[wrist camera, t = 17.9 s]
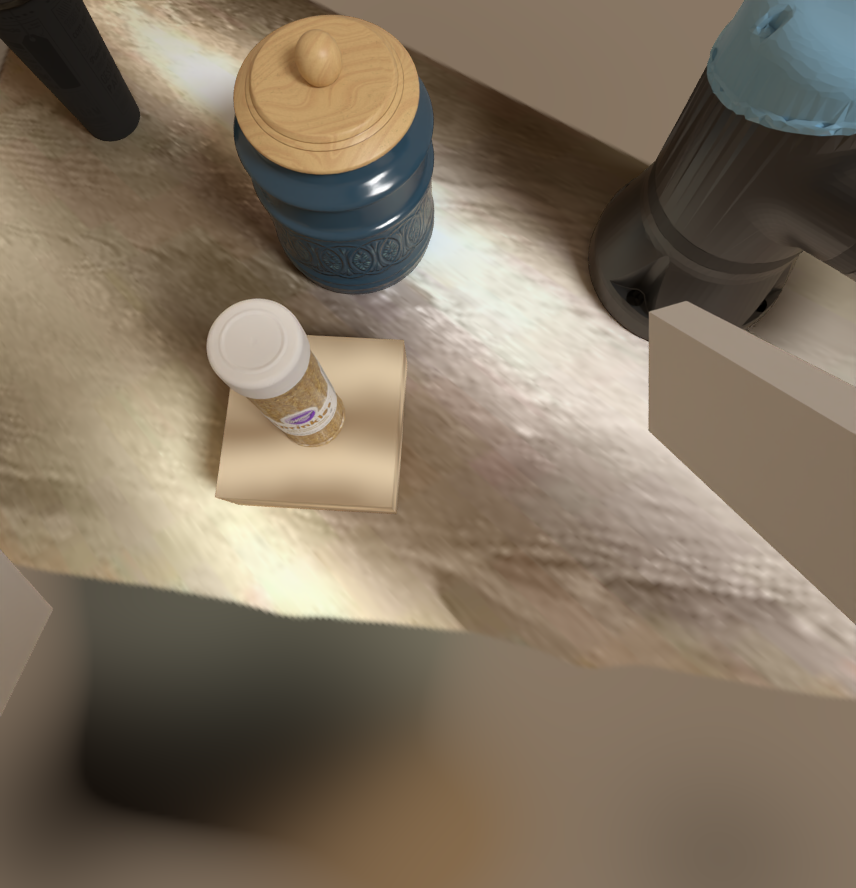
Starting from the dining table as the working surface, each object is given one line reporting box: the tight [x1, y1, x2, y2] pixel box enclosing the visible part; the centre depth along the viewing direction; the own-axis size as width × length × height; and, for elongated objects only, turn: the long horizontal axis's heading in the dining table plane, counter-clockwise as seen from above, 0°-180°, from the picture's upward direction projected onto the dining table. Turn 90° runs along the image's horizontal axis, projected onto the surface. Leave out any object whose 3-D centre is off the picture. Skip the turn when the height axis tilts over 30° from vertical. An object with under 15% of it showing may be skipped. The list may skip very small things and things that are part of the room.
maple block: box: [215, 335, 407, 514], centre depth 41 cm, size 12×12×5 cm
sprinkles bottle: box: [206, 299, 345, 447], centre depth 32 cm, size 5×5×13 cm
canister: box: [233, 15, 434, 294], centre depth 39 cm, size 13×13×18 cm
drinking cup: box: [0, 0, 140, 141], centre depth 40 cm, size 8×8×20 cm
